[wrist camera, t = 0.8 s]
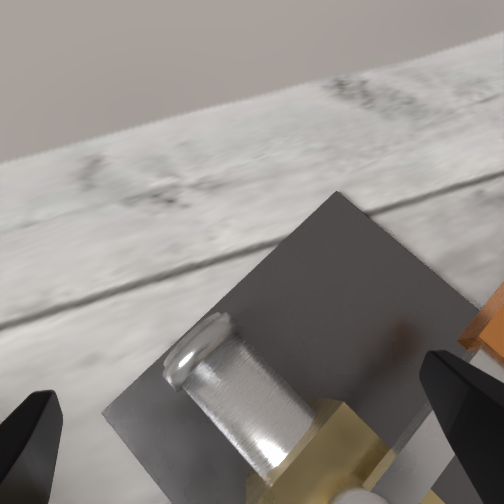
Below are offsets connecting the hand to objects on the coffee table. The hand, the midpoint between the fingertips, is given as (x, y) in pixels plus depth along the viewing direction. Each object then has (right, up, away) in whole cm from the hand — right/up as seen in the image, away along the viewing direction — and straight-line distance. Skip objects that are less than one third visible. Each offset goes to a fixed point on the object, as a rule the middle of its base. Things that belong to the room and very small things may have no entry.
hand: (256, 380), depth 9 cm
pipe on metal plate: (+7, -8, +14) cm, 17 cm away
